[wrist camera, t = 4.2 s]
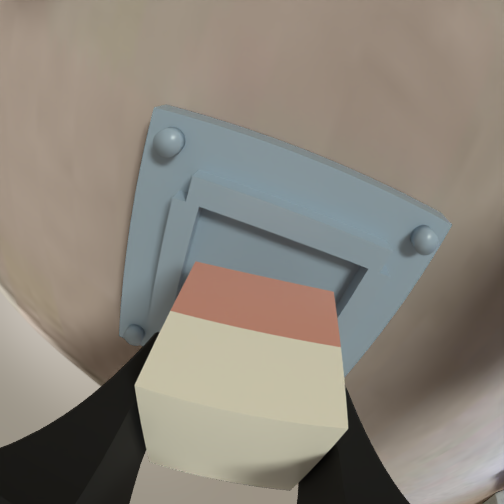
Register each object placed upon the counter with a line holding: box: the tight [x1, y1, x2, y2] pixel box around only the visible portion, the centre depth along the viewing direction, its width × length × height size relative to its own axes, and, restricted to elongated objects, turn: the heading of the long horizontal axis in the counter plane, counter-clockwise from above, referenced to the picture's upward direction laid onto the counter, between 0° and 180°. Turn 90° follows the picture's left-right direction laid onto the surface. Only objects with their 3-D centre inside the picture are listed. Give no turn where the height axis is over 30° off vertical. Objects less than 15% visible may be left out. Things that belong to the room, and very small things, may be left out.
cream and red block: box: [135, 261, 348, 491], centre depth 9 cm, size 4×4×5 cm
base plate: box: [119, 105, 452, 377], centre depth 14 cm, size 12×12×2 cm
